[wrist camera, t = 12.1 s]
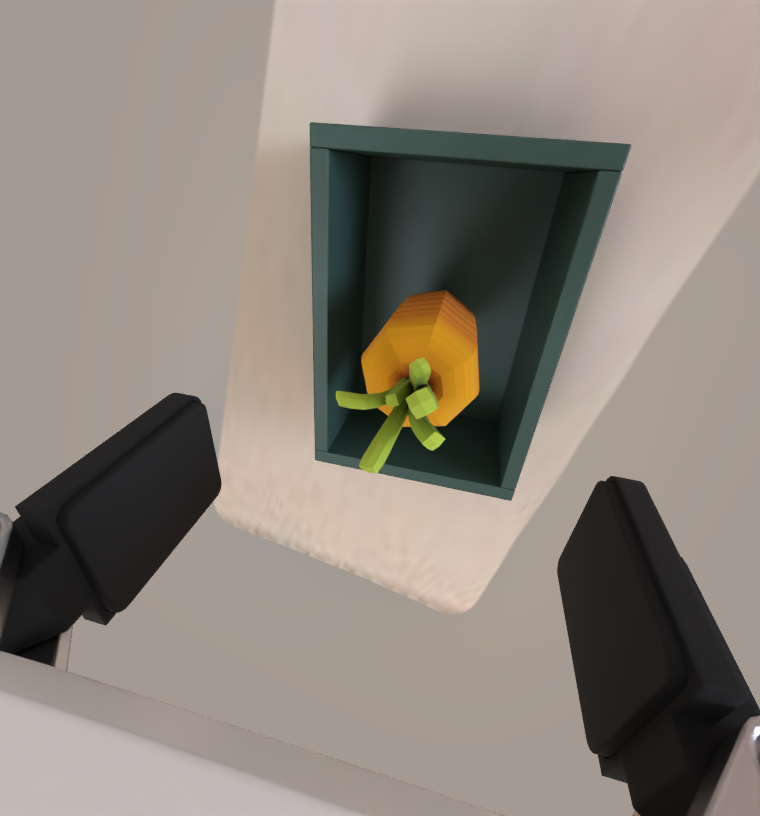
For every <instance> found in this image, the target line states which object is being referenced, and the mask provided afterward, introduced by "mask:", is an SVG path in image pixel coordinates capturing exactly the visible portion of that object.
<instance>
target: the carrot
mask: <svg viewBox="0 0 760 816" xmlns="http://www.w3.org/2000/svg"><path fill="white" fill-rule="evenodd" d="M361 363H362V368H363V373H364V378H365V383H366V388H367V393H368V394H358V393H351V392H344V391H336V400H337V402H338V405H339V406H341V407H345V408H351V409H360V410H367V409H373V408H378V409H380V410H381V411H382V412H384V413H385V414H386V415H388V418H387V419H386V421H385V422H384V424H383V425H382V427H381V428H380V430H379V431H378V433H377V434H376V436H375V438H374V439H373V441H372V442H371V444H370V445H369V447H368V449H367V450H366V452H365V453H364V455H363V457H362V459H361V461H360V463H359V466H360V468H361V469H363V470H365V471H366V472H370V473H378V472H379V470H380V469H381V468H382V466H383V465H384V463H385V461H386V459H387V457H388V455H389V453H390V451H391V449H392V447H393V445H394V443H395V441H396V439H397V437H398V434H399V432H400V430H401V428H402V427H411V428H412V430H413V432H414V434H415V435H416V437H417V438H418V439H419V441H420V442H421V443H422V444H423V445H424V446H425V447H426V448H427V449H429V450H432V451H433V450H435V449H436V448H438V447H439V446H440V445H441V444H442V443H443V441H444V440H445V438H444V437H443V436H442V435H441V434H440V433H439V431H438V430H437V429H436V428H435V427H434V426H446V425H447V424H448V423H449V422H450V421H451V420H452V419H453V418H454V417H455V416H457V415H458V414H459V413H460V412H461V411H462V410H463V409H464V408H465V407H466V406H467V405H468V404H469V403H470V402H471V401H472V400H474V399H475V398H476V396H477V395H478V394H479V365H478V344H477V327H476V320H475V316H474V315H473V313H472V312H471V310H470V309H469V308H468V307H467V306H466V305H465V304H464V303H463V302H461V301H460V300H459V299H458V298H456V297H455V296H454V295H453V294H452V293H450V292H449V291H448V290H440V291H431V292H423V293H418V294H414V295H412V296H410V297H408V298H407V299H406V300H405V301H404V302H403V303H402V304H401V305H400V306H399V307H398V309H397V310H396V311H395V312H394V314H393V315H392V316H391V318H390V319H389V320H388V321H387V323H386V324H385V325H384V327H383V328H382V329H381V331H380V332H379V333H378V335H377V336H376V337H375V339H374V340H373V341H372V342H371V344H370V345H369V346H368V348H367V349H366V350H365V352H364V353H363V355H362V357H361Z"/></svg>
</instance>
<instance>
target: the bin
mask: <svg viewBox="0 0 760 816" xmlns="http://www.w3.org/2000/svg"><path fill="white" fill-rule="evenodd" d="M310 146H311V148H310V178H311V239H312V299H313V359H314V420H315V460H317V461H322V462H327V463H332V464H336V465H341V466H346V467H351V468H356V469H361V468H360V466H359V463H360V461H361V459H362V457H363V455H364V453H365V452H366V450H367V449H368V447H369V445H370V444H371V442H372V441H373V439H374V438H375V436H376V434H377V433H378V431H379V430H380V428H381V427H382V425H383V424H384V422H385V421H386V419H387V418H388V415H386V414H385V413H384V412H382V411H381V410H380V409H378V408H373V409H367V410H360V409H351V408H345V407H341V406H339V405H338V402H337V400H336V391H344V392H351V393H358V394H368V393H367V388H366V383H365V378H364V373H363V368H362V363H361V357H362V355H363V353H364V352H365V350H366V349H367V348H368V346H369V345H370V344H371V342H372V341H373V340H374V339H375V337H376V336H377V335H378V333H379V332H380V331H381V329H382V328H383V327H384V325H385V324H386V323H387V321H388V320H389V319H390V318H391V316H392V315H393V314H394V312H395V311H396V310H397V309H398V307H399V306H400V305H401V304H402V303H403V302H404V301H405V300H406V299H407V298H408V297H410V296H412V295H414V294H418V293H423V292H431V291H440V290H448V291H449V292H450V293H452V294H453V295H454V296H455V297H456V298H458V299H459V300H460V301H461V302H463V303H464V304H465V305H466V306H467V307H468V308H469V309H470V310H471V312H472V313H473V315H474V316H475V320H476V327H477V344H478V365H479V394H478V395H477V396H476V398H475V399H474V400H472V401H471V402H470V403H469V404H468V405H467V406H466V407H465V408H464V409H463V410H462V411H461V412H460V413H459V414H458V415H457V416H455V417H454V418H453V419H452V420H451V421H450V422H449V423H448V424H447V425H446V426H434V427H435V428H436V429H437V430H438V431H439V433H440V434H441V435H442V436H443V437H444V438H445V440H444V441H443V443H442V444H441V445H440V446H439V447H438V448H436V449H435V450H433V451H432V450H429V449H427V448H426V447H425V446H424V445H423V444H422V443H421V442H420V441H419V439H418V438H417V437H416V435H415V434H414V432H413V430H412V428H411V427H402V428H401V430H400V432H399V434H398V437H397V439H396V441H395V443H394V445H393V447H392V449H391V451H390V453H389V455H388V457H387V459H386V461H385V463H384V465H383V466H382V468H381V469H380V470H379V472H378V473H380V474H385V475H390V476H394V477H399V478H404V479H409V480H414V481H418V482H423V483H428V484H433V485H438V486H443V487H447V488H452V489H457V490H462V491H467V492H471V493H476V494H481V495H486V496H491V497H496V498H500V499H505V500H510V501H511V500H512V497H513V494H514V491H515V488H516V485H517V482H518V479H519V476H520V473H521V470H522V467H523V464H524V462H525V459H526V456H527V453H528V450H529V447H530V444H531V441H532V438H533V435H534V432H535V429H536V426H537V423H538V420H539V417H540V414H541V411H542V408H543V405H544V402H545V399H546V396H547V394H548V391H549V388H550V385H551V382H552V379H553V376H554V373H555V370H556V367H557V364H558V361H559V358H560V355H561V352H562V349H563V346H564V343H565V340H566V337H567V334H568V331H569V329H570V326H571V323H572V320H573V317H574V314H575V311H576V308H577V305H578V302H579V299H580V296H581V293H582V290H583V287H584V284H585V281H586V278H587V275H588V272H589V269H590V266H591V263H592V261H593V258H594V255H595V252H596V249H597V246H598V243H599V240H600V237H601V234H602V231H603V228H604V225H605V222H606V219H607V216H608V213H609V210H610V207H611V204H612V201H613V198H614V195H615V193H616V190H617V187H618V184H619V181H620V178H621V175H622V173H621V172H620V171H622V170H623V169H624V166H625V163H626V160H627V157H628V154H629V151H630V148H631V145H630V144H620V143H606V142H591V141H576V140H562V139H547V138H533V137H518V136H503V135H489V134H474V133H459V132H445V131H430V130H415V129H401V128H386V127H372V126H357V125H342V124H328V123H313V122H311V123H310ZM361 470H363V469H361Z"/></svg>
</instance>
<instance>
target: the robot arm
mask: <svg viewBox="0 0 760 816" xmlns="http://www.w3.org/2000/svg"><path fill="white" fill-rule="evenodd" d="M220 489H221V478H220V473H219V468H218V463H217V458H216V453H215V448H214V443H213V439H212V434H211V429H210V424H209V419H208V415H207V410H206V407H205V405H204V404H202V403H201V400H200V399H199V398H198V397H196V396H191V395H185V394H180V393H172V394H170V395H168V396H167V397H165V398H164V399H163V400H161V401H160V402H159V403H157V404H156V405H154V406H153V407H152V408H150V409H149V410H148V411H146V412H145V413H143V414H142V415H141V416H139V417H138V418H136V419H135V420H134V421H132V422H131V423H130V424H128V425H127V426H126V427H124V428H123V429H121V430H120V431H119V432H117V433H116V434H115V435H113V436H112V437H110V438H109V439H108V440H106V441H105V442H103V443H102V444H101V445H99V446H98V447H97V448H95V449H94V450H93V451H91V452H90V453H88V454H87V455H85V456H84V457H83V458H81V459H80V460H79V461H77V462H76V463H75V464H73V465H72V466H70V467H69V468H68V469H67V470H65V471H63V472H62V473H61V474H59V475H58V476H57V477H56V478H54V479H52V480H51V481H50V482H49V483H47V484H46V485H44V486H43V487H41V488H40V489H39V490H37V491H36V492H35V493H34V494H32V495H30V496H29V497H28V498H26V499H25V500H23V501H22V502H21V503H20V504H18V505H17V506H16V507H15V508H16V509H17V511H18V513H19V514H20V517H19V518H18V519H16V520H15V521H14V522H12V521H11V519H10V518H9V517H8V515H6V514H3V513H1V512H0V816H505V815H502V814H499V813H496V812H493V811H490V810H487V809H484V808H481V807H478V806H475V805H472V804H469V803H466V802H463V801H460V800H457V799H454V798H451V797H448V796H445V795H442V794H439V793H436V792H433V791H430V790H427V789H424V788H421V787H418V786H415V785H412V784H409V783H406V782H403V781H400V780H397V779H394V778H391V777H388V776H385V775H382V774H379V773H376V772H373V771H370V770H367V769H364V768H361V767H358V766H355V765H352V764H349V763H346V762H343V761H340V760H337V759H334V758H331V757H328V756H325V755H322V754H319V753H316V752H313V751H310V750H307V749H304V748H301V747H298V746H295V745H292V744H289V743H285V742H283V741H280V740H276V739H274V738H271V737H267V736H265V735H261V734H258V733H255V732H252V731H249V730H246V729H243V728H240V727H237V726H234V725H231V724H228V723H225V722H221V721H219V720H216V719H213V718H210V717H207V716H204V715H200V714H198V713H194V712H191V711H188V710H185V709H182V708H179V707H176V706H173V705H170V704H167V703H164V702H161V701H158V700H155V699H151V698H148V697H145V696H142V695H139V694H136V693H133V692H130V691H127V690H124V689H120V688H117V687H114V686H111V685H108V684H105V683H102V682H98V681H96V680H93V679H90V678H86V677H83V676H80V675H77V674H74V673H71V672H68V671H67V668H68V660H69V652H70V644H71V637H72V629H73V624H74V623H75V622H76V620H78V618H79V617H80V616H81V615H82V616H83V617H84V619H86V620H90V621H93V622H96V623H99V624H103V625H107V624H108V623H109V621H110V620H111V619H112V618H113V617H114V615H115V614H116V613H117V612H121V611H123V610H124V609H126V607H127V606H128V605H129V604H130V603H131V602H132V601H133V599H134V598H135V597H136V595H137V594H138V593H139V592H140V591H141V589H142V588H143V587H144V586H145V584H146V583H147V582H148V581H149V579H150V578H151V577H152V576H153V575H154V573H155V572H156V571H157V570H158V569H159V567H160V566H161V565H162V564H163V562H164V561H165V560H166V559H167V557H168V556H169V555H170V554H171V552H172V551H173V550H174V549H175V547H176V546H177V545H178V544H179V543H180V541H181V540H182V539H183V537H184V536H185V535H186V534H187V533H188V532H189V530H190V529H191V528H192V527H193V525H194V524H195V523H196V522H197V520H198V519H199V518H200V517H201V516H202V514H203V513H204V512H205V510H206V509H207V508H208V507H209V506H210V504H211V503H212V502H213V501H214V499H215V498H216V497H217V496H218V494H219V492H220ZM557 573H558V580H559V585H560V591H561V597H562V603H563V608H564V614H565V620H566V625H567V631H568V637H569V643H570V648H571V654H572V660H573V665H574V671H575V677H576V682H577V688H578V693H579V700H580V705H581V711H582V717H583V722H584V728H585V734H586V739H587V743H588V746H589V748H590V750H591V751H592V752H593V753H594V754H598V758H599V763H600V768H601V773H602V776H605V777H609V778H612V779H615V780H618V781H622V782H625V783H628V787H629V792H630V796H631V801H632V805H633V808H634V809H635V812H634V813H633V815H632V816H760V709H759V707H758V705H757V703H756V701H755V699H754V697H753V695H752V693H751V691H750V689H749V687H748V685H747V683H746V681H745V679H744V677H743V675H742V673H741V671H740V669H739V667H738V665H737V663H736V661H735V659H734V658H733V656H732V653H731V651H730V650H729V647H728V646H727V643H726V641H725V640H724V637H723V635H722V633H721V631H720V630H719V628H718V626H717V624H716V622H715V620H714V618H713V616H712V614H711V612H710V610H709V608H708V606H707V604H706V602H705V600H704V598H703V596H702V594H701V592H700V590H699V588H698V586H697V584H696V582H695V580H694V578H693V576H692V574H691V572H690V570H689V568H688V566H687V564H686V563H685V561H684V560H683V558H682V557H680V555H679V553H678V551H677V549H676V547H675V545H674V543H673V541H672V539H671V537H670V535H669V533H668V531H667V529H666V527H665V525H664V523H663V521H662V519H661V517H660V515H659V513H658V510H657V508H656V507H655V505H654V502H653V501H652V499H651V496H650V494H649V493H648V490H647V488H646V486H645V485H644V484H643V483H642V482H640V481H635V480H631V479H626V478H620V477H615V476H611V477H609V478H608V479H607V480H606V482H605V481H599V482H598V483H597V484H596V486H595V488H594V490H593V492H592V494H591V496H590V498H589V500H588V502H587V504H586V506H585V508H584V510H583V512H582V514H581V516H580V518H579V520H578V522H577V524H576V526H575V528H574V530H573V532H572V534H571V536H570V538H569V540H568V542H567V544H566V546H565V548H564V550H563V552H562V554H561V556H560V558H559V561H558V569H557Z"/></svg>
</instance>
